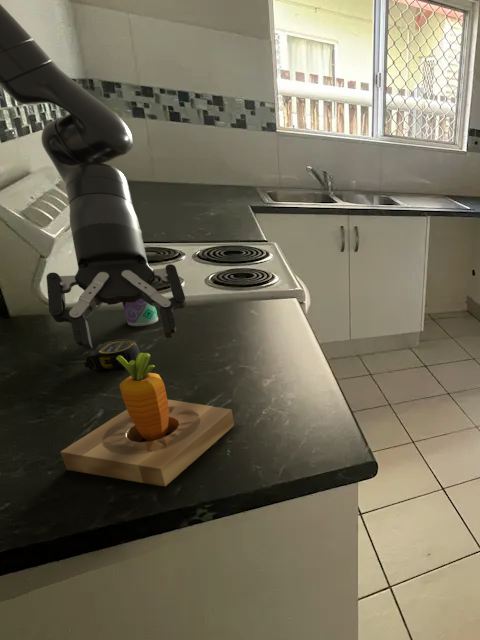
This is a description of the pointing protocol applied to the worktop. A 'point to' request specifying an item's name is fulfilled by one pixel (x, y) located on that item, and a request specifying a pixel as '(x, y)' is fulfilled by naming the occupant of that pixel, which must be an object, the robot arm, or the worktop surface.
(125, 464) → the socket pad
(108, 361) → the tape measure
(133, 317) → the spray can
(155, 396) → the carrot
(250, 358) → the worktop surface
